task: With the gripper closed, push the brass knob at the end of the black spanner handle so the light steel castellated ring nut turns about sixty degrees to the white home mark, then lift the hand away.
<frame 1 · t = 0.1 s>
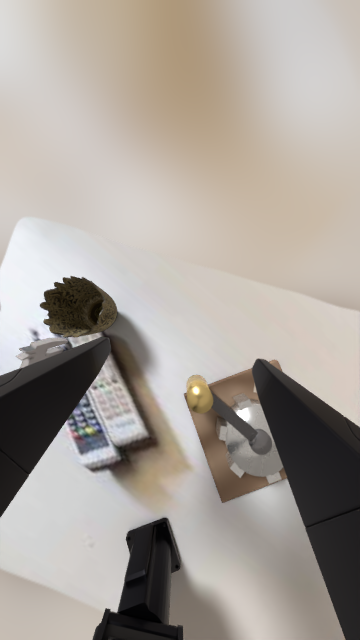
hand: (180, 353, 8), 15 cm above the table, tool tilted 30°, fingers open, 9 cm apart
caliper: (37, 389, 23), on the table
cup: (109, 315, 24), on the table
nut base: (248, 425, 21), on the table
ring nut: (240, 426, 18), point 4 cm above the table, hinge at 0.0°
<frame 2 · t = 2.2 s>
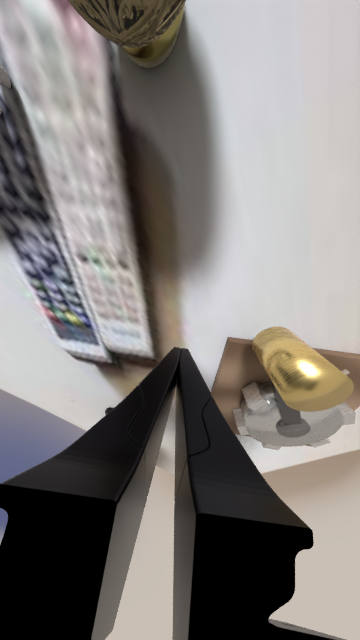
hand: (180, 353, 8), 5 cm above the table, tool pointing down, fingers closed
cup: (150, 21, 6), on the table
nut base: (275, 398, 17), on the table
ring nut: (293, 414, 12), point 4 cm above the table, hinge at 0.0°
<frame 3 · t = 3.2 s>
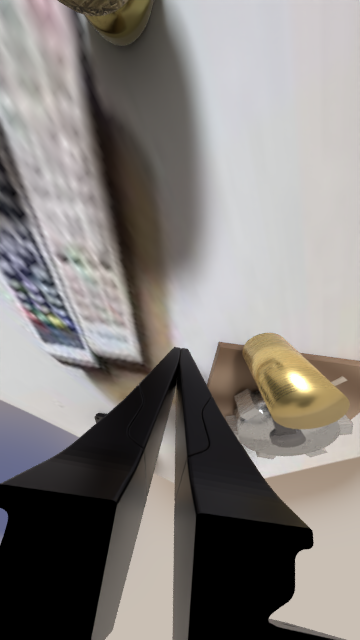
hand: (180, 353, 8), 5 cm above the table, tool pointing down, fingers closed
nut base: (270, 405, 16), on the table
ring nut: (286, 425, 11), point 4 cm above the table, hinge at 0.0°
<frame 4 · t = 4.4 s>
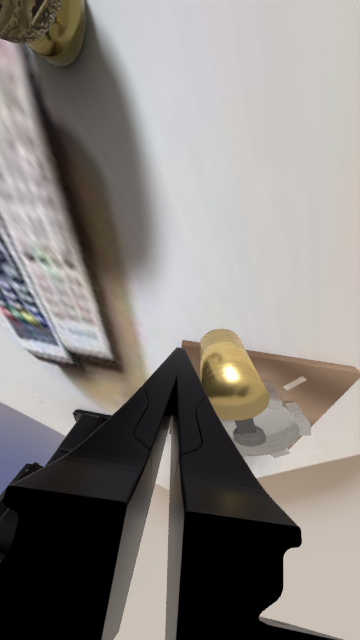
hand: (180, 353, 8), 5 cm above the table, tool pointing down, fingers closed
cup: (59, 20, 6), on the table
nut base: (239, 404, 16), on the table
ring nut: (244, 422, 11), point 4 cm above the table, hinge at 2.2°, touching gripper
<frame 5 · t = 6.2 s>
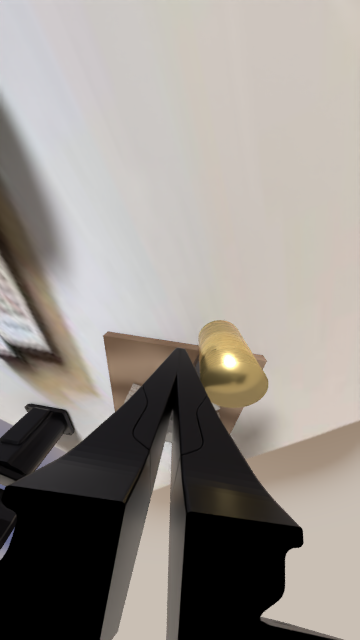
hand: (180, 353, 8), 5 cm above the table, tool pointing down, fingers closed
nut base: (175, 394, 17), on the table
ring nut: (183, 410, 12), point 4 cm above the table, hinge at 43.5°, touching gripper
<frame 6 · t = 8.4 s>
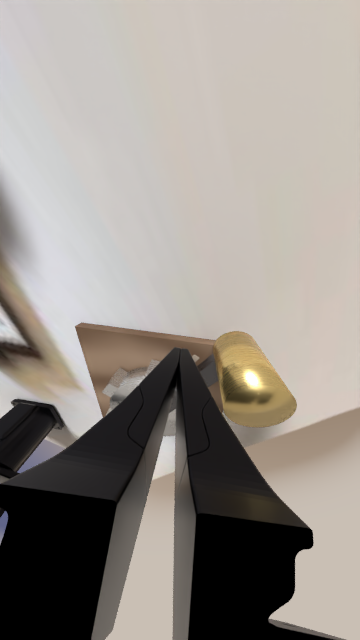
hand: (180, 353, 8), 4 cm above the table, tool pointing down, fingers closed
nut base: (158, 387, 16), on the table
ring nut: (171, 408, 11), point 4 cm above the table, hinge at 63.3°
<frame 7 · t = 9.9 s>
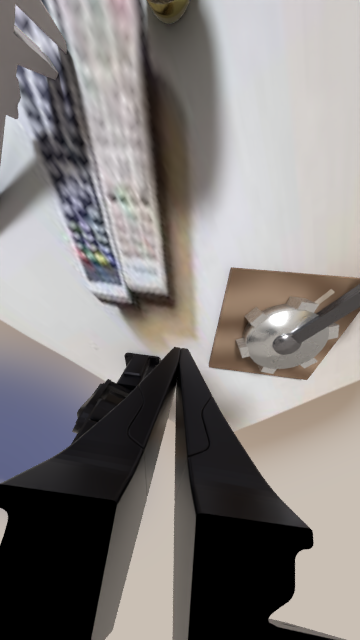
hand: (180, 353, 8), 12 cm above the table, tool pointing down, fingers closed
caliper: (19, 160, 14), on the table
nut base: (273, 330, 19), on the table
ring nut: (322, 327, 14), point 4 cm above the table, hinge at 63.3°
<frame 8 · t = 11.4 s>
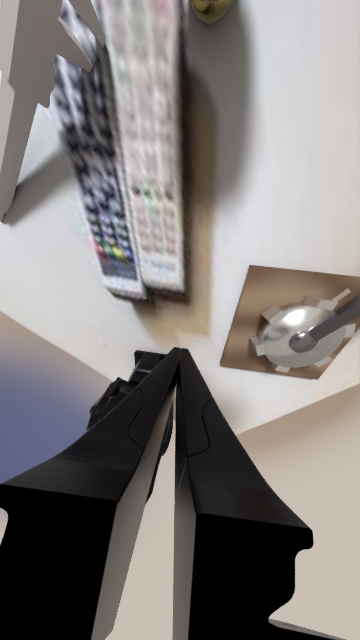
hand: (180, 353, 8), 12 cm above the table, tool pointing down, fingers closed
caliper: (42, 150, 14), on the table
nut base: (287, 329, 20), on the table
ring nut: (340, 325, 15), point 4 cm above the table, hinge at 63.3°
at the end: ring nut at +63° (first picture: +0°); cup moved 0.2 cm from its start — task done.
